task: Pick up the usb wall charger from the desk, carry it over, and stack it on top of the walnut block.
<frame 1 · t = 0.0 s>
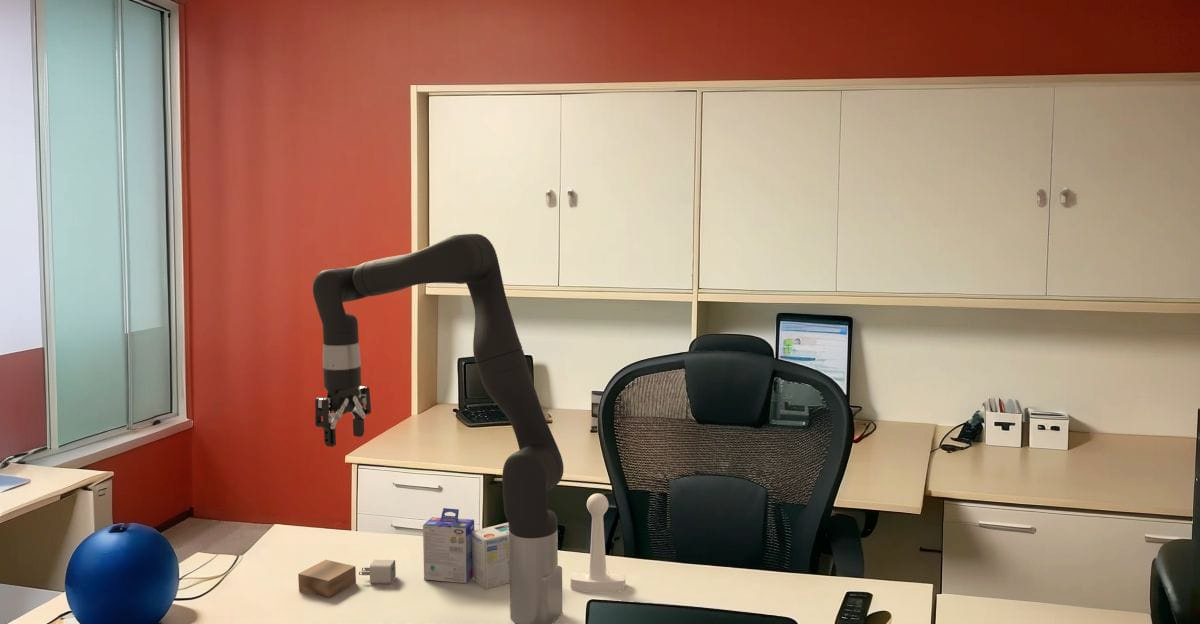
hand: (345, 441, 192), 29 cm above the table, fingers open, 8 cm apart
joystick: (598, 585, 190), on the table
usb wall charger: (377, 581, 193), on the table
light bulb box: (500, 579, 193), on the table
walnut block: (327, 588, 189), on the table
ink cartridge box: (450, 578, 194), on the table
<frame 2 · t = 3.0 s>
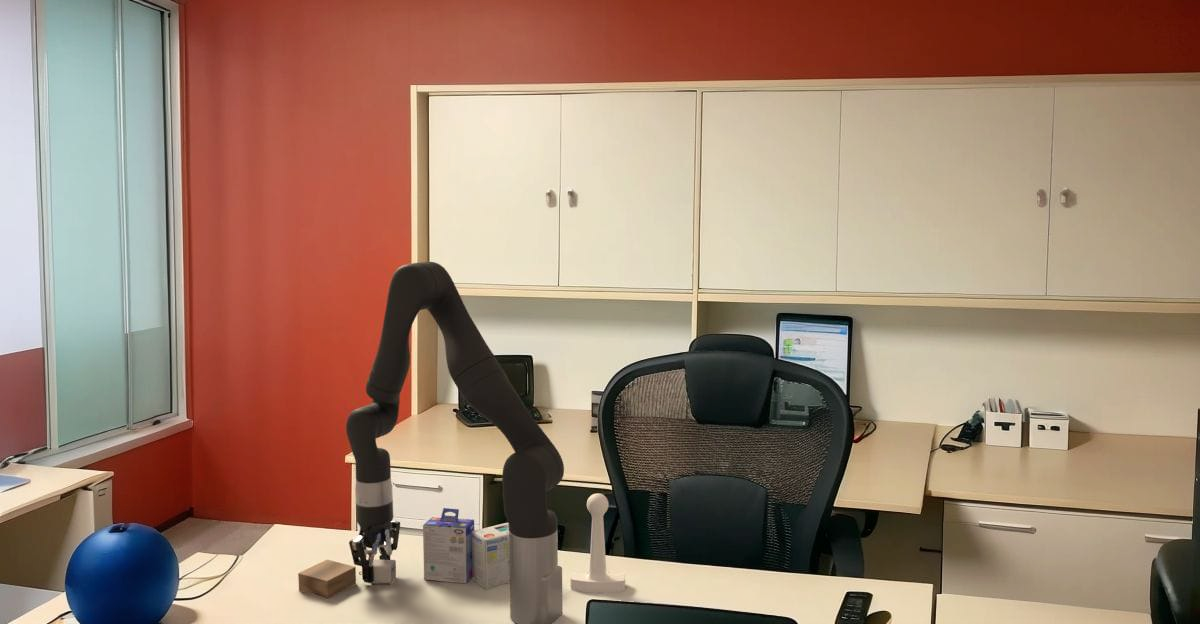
hand: (377, 576, 193), 1 cm above the table, fingers closed on usb wall charger, 4 cm apart
usb wall charger: (377, 581, 192), on the table, touching gripper
everything else where it was.
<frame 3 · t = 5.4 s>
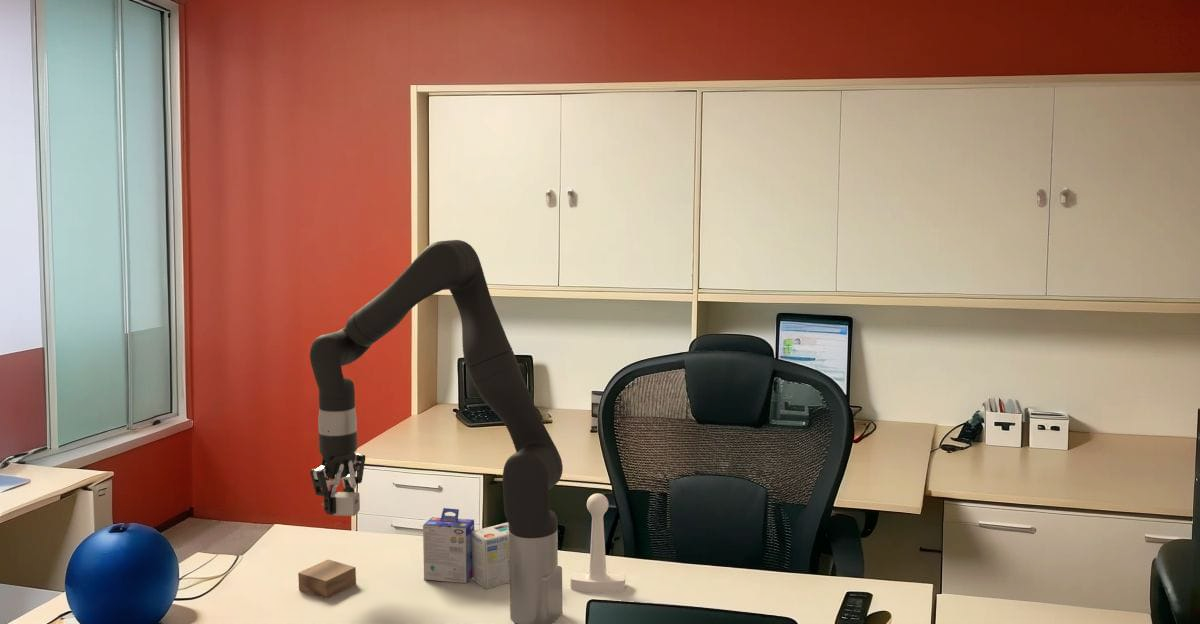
hand: (339, 509, 189), 16 cm above the table, fingers closed on usb wall charger, 4 cm apart
usb wall charger: (340, 513, 189), point 15 cm above the table, touching gripper
everything else where it was.
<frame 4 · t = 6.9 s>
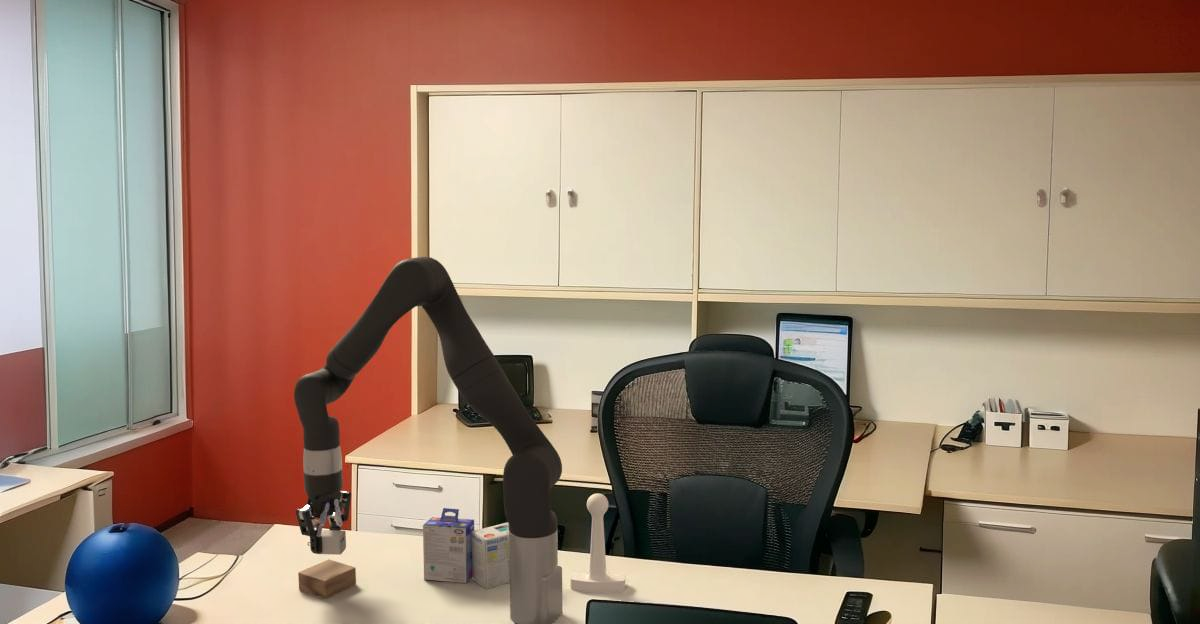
hand: (326, 548, 188), 8 cm above the table, fingers closed on usb wall charger, 4 cm apart
usb wall charger: (326, 552, 188), point 8 cm above the table, touching gripper
everything else where it was.
when the fingers open (6 cm above the table, at t = 7.8 s): usb wall charger drops 2 cm, resting on walnut block.
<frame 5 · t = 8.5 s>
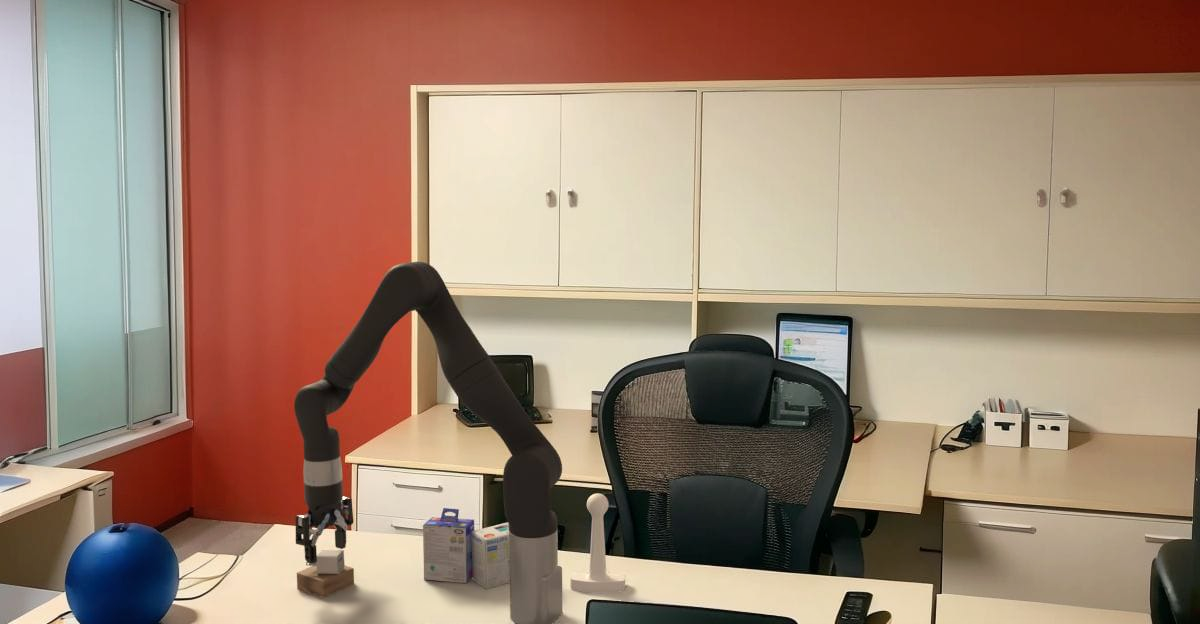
hand: (326, 554, 188), 7 cm above the table, fingers open, 8 cm apart
usb wall charger: (325, 572, 189), point 3 cm above the table, touching walnut block
walnut block: (325, 588, 190), on the table, touching usb wall charger
everything else where it was.
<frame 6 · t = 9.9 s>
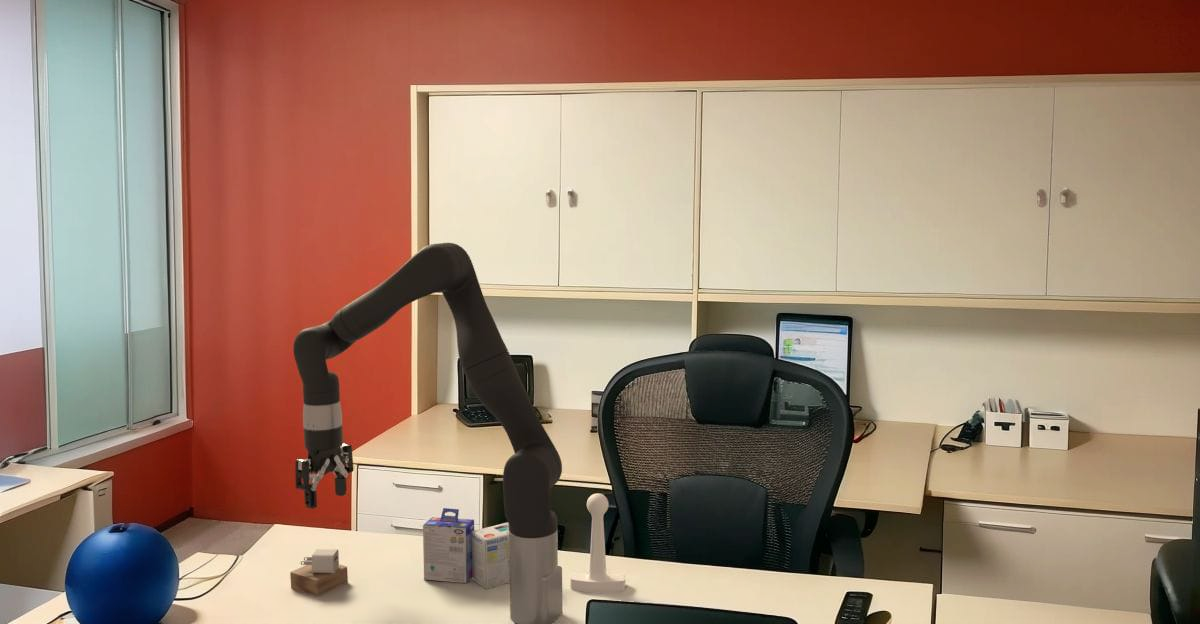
hand: (326, 501, 187), 18 cm above the table, fingers open, 8 cm apart
usb wall charger: (319, 571, 189), point 3 cm above the table, touching walnut block
walnut block: (319, 587, 190), on the table, touching usb wall charger
everything else where it was.
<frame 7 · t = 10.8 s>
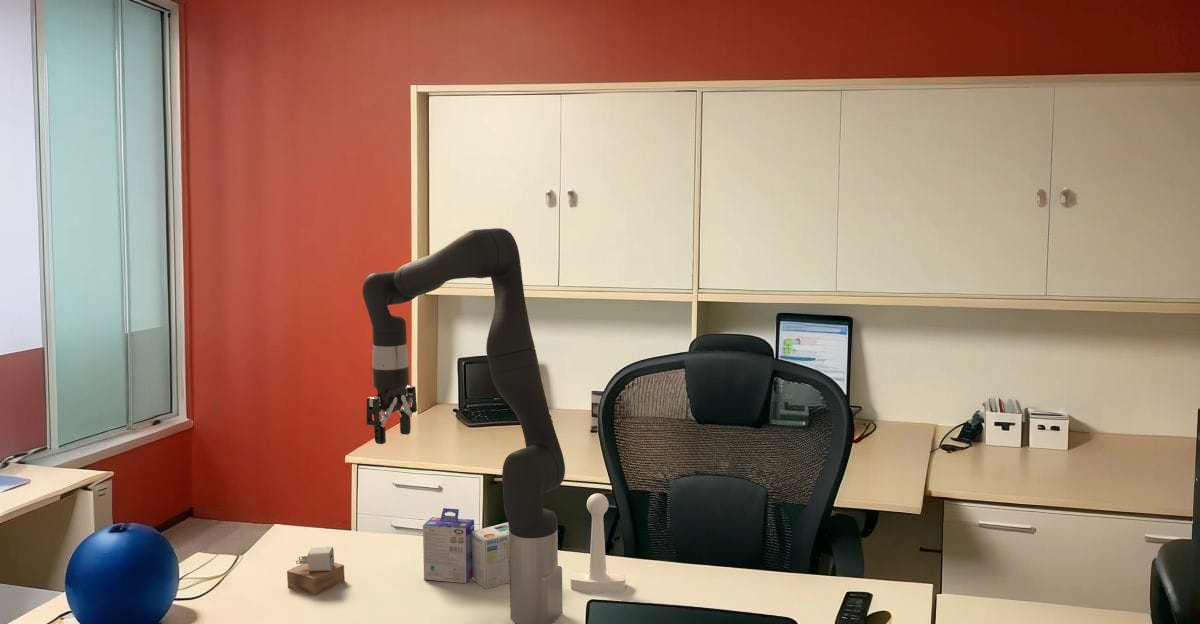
hand: (393, 438, 198), 28 cm above the table, fingers open, 8 cm apart
usb wall charger: (315, 569, 190), point 3 cm above the table, touching walnut block
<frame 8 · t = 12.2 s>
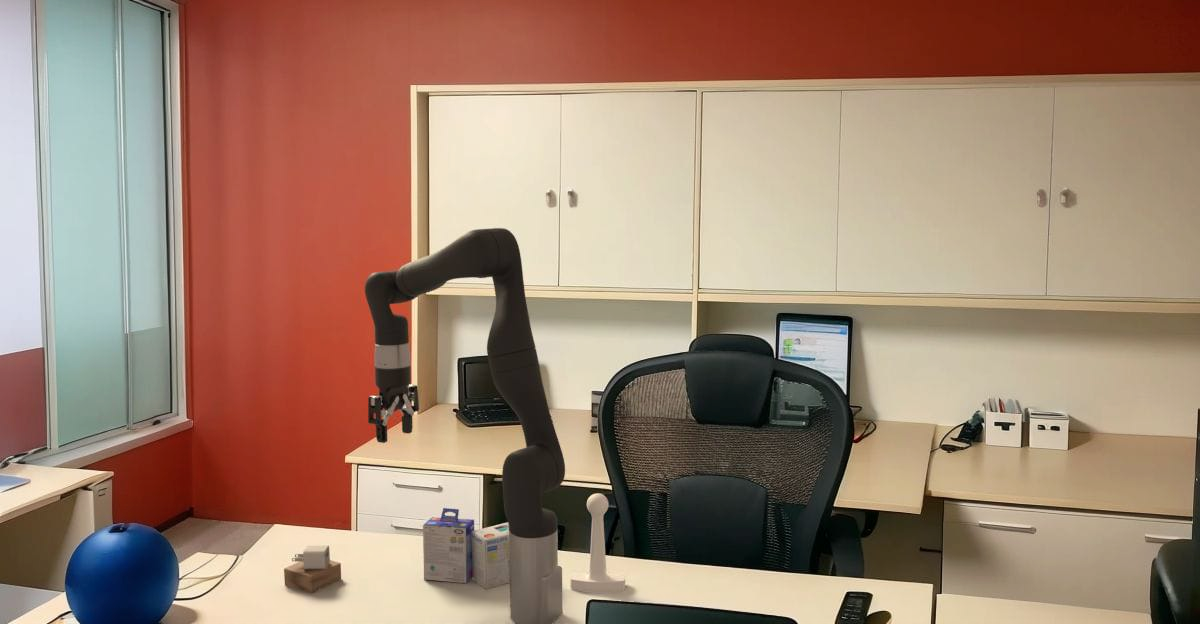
hand: (395, 437, 199), 28 cm above the table, fingers open, 8 cm apart
usb wall charger: (310, 567, 191), point 3 cm above the table, touching walnut block
walnut block: (313, 584, 192), on the table, touching usb wall charger
everything else where it was.
at the end: usb wall charger 0.5 cm off-centre on the walnut block, point 3.8 cm above the walnut block's base; usb wall charger touching walnut block; the gripper is holding nothing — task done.
